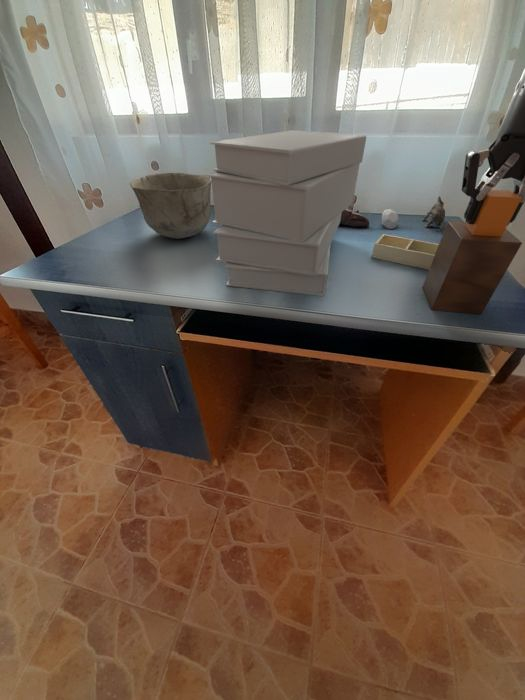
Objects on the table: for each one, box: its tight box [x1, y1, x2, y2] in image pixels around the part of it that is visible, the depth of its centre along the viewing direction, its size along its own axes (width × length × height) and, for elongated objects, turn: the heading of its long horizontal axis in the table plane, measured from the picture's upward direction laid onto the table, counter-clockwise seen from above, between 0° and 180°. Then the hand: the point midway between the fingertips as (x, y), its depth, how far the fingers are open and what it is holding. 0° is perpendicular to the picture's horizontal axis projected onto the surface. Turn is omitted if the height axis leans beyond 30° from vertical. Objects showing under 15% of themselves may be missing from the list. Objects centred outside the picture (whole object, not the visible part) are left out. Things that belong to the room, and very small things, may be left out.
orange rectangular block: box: [465, 189, 521, 237], centre depth 50 cm, size 4×4×6 cm
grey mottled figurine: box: [421, 196, 446, 230], centre depth 91 cm, size 12×6×7 cm, turn 158°
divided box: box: [371, 233, 439, 271], centre depth 73 cm, size 8×22×4 cm, turn 57°
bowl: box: [129, 172, 212, 240], centre depth 85 cm, size 22×22×15 cm
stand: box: [422, 220, 523, 316], centre depth 56 cm, size 9×9×14 cm
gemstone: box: [381, 208, 400, 230], centre depth 93 cm, size 6×6×5 cm
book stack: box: [206, 129, 367, 297], centre depth 68 cm, size 30×35×26 cm
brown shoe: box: [339, 207, 371, 228], centre depth 94 cm, size 6×12×11 cm
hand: (486, 223), depth 51 cm, fingers open, 4 cm apart
